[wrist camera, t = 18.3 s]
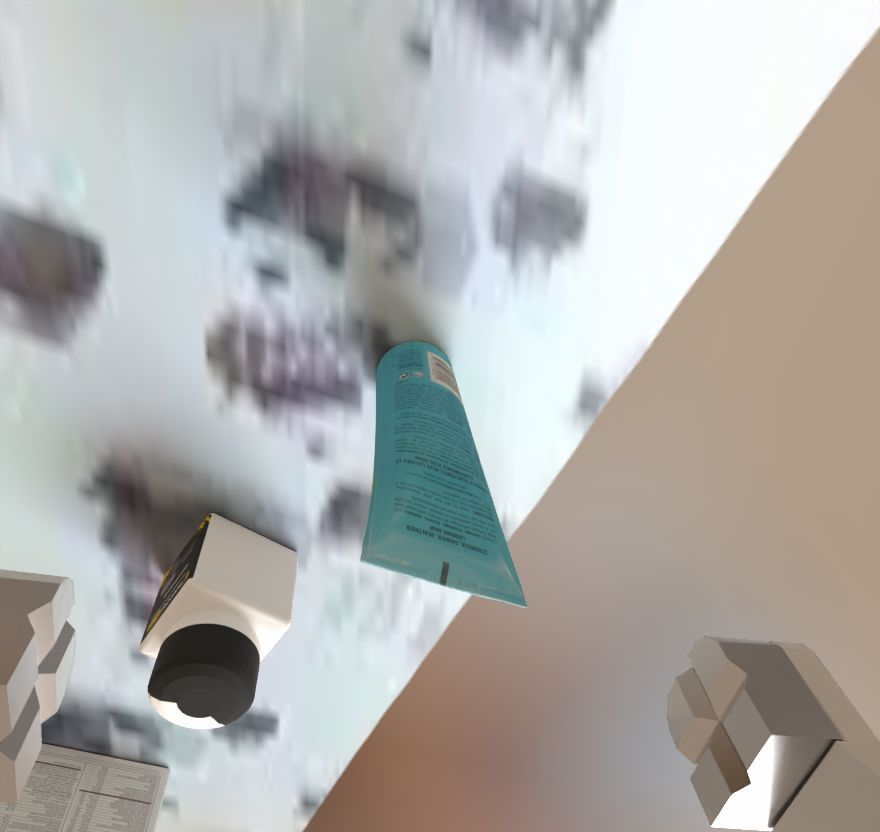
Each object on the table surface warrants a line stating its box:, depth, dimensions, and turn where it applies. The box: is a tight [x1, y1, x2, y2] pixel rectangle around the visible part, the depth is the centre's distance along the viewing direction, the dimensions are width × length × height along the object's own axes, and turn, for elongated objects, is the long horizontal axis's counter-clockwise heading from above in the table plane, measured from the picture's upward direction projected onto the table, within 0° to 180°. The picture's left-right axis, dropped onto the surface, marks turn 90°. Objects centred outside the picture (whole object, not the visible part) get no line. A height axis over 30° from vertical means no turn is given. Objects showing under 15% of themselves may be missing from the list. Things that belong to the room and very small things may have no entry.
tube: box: [361, 341, 527, 608], centre depth 37 cm, size 7×5×19 cm, turn 70°
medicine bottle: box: [139, 513, 299, 729], centre depth 46 cm, size 7×7×12 cm
